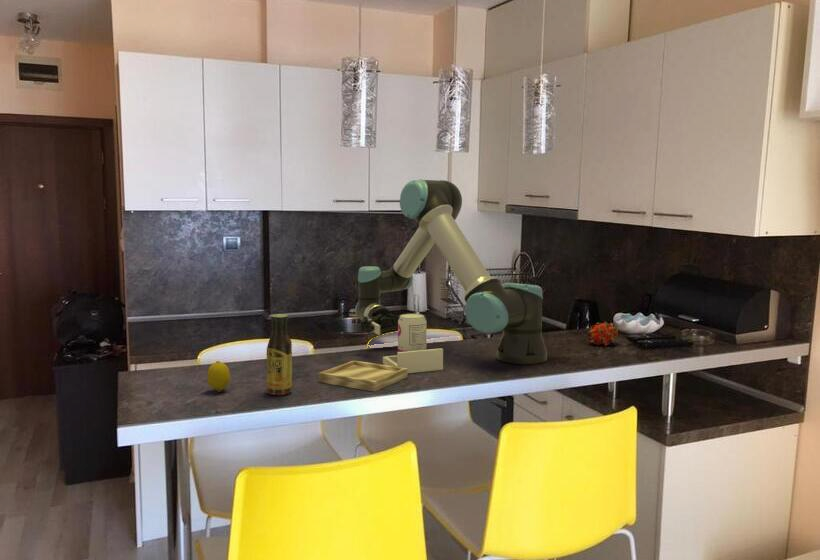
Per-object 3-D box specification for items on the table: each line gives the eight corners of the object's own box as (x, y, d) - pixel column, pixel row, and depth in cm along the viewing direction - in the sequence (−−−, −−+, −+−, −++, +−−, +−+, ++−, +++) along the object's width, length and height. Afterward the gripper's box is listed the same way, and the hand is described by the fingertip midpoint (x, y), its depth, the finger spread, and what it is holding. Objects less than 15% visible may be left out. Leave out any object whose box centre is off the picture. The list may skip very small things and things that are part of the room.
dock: (424, 359, 201) (424, 339, 201) (442, 369, 189) (443, 349, 188) (382, 363, 197) (382, 343, 196) (398, 374, 184) (398, 353, 183)
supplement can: (395, 369, 190) (394, 317, 188) (402, 362, 198) (402, 312, 196) (422, 370, 188) (422, 318, 186) (428, 363, 196) (428, 313, 194)
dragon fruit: (620, 348, 223) (589, 356, 219) (607, 330, 228) (577, 337, 225) (628, 331, 217) (596, 339, 213) (614, 313, 222) (583, 320, 219)
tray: (407, 377, 181) (407, 368, 181) (374, 391, 167) (374, 382, 167) (353, 368, 190) (353, 360, 190) (318, 382, 176) (318, 372, 176)
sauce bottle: (261, 394, 166) (259, 315, 163) (279, 388, 171) (277, 312, 168) (280, 398, 162) (278, 318, 160) (298, 392, 167) (296, 314, 165)
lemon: (210, 389, 170) (209, 358, 169) (232, 388, 170) (231, 358, 169) (205, 395, 165) (204, 363, 164) (228, 394, 165) (226, 363, 164)
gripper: (412, 325, 225) (437, 337, 206) (341, 330, 216) (360, 343, 197) (413, 303, 224) (438, 314, 205) (341, 307, 215) (360, 319, 196)
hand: (400, 328), depth 201 cm, fingers open, 13 cm apart
